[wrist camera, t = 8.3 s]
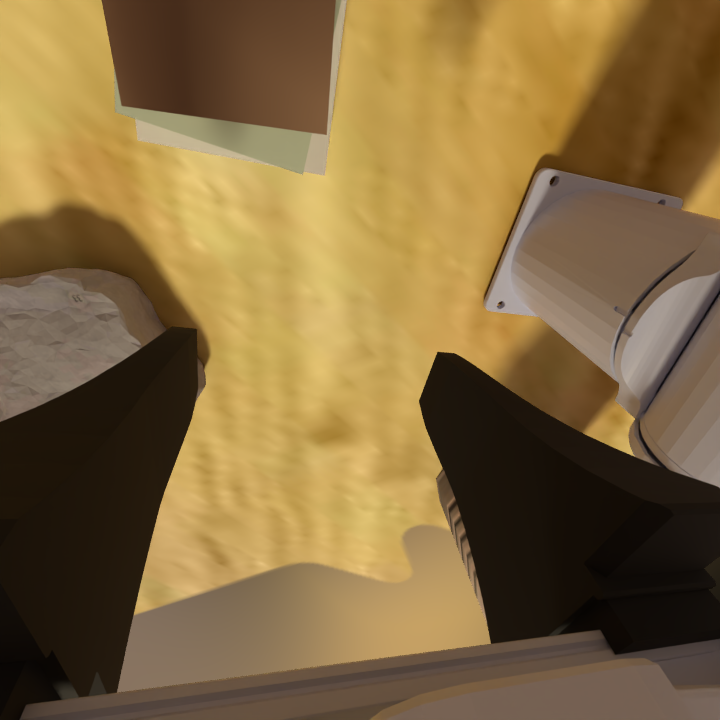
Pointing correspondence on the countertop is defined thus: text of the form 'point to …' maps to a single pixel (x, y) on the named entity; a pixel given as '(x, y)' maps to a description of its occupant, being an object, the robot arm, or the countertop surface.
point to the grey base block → (313, 161)
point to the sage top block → (233, 133)
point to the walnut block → (226, 59)
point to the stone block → (68, 332)
